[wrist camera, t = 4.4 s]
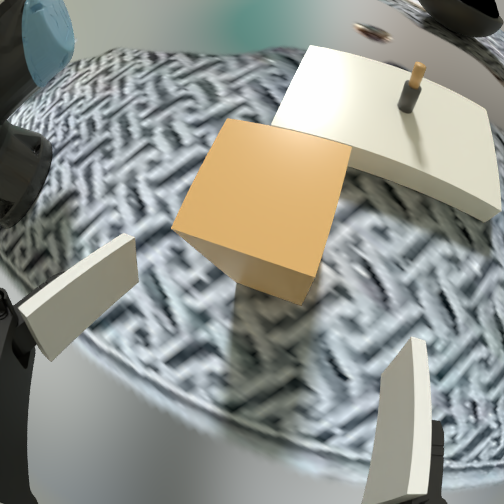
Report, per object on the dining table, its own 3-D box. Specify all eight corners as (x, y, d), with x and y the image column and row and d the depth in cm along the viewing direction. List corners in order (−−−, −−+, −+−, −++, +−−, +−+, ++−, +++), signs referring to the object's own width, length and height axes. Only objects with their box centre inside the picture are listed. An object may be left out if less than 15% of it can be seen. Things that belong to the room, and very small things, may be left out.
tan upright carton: (236, 282, 21) (171, 228, 10) (260, 221, 22) (227, 118, 11) (301, 305, 20) (314, 277, 8) (322, 241, 21) (352, 146, 9)
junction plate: (273, 146, 24) (263, 75, 16) (310, 64, 27) (309, 6, 18) (484, 222, 19) (536, 183, 11) (476, 123, 22) (504, 79, 14)
